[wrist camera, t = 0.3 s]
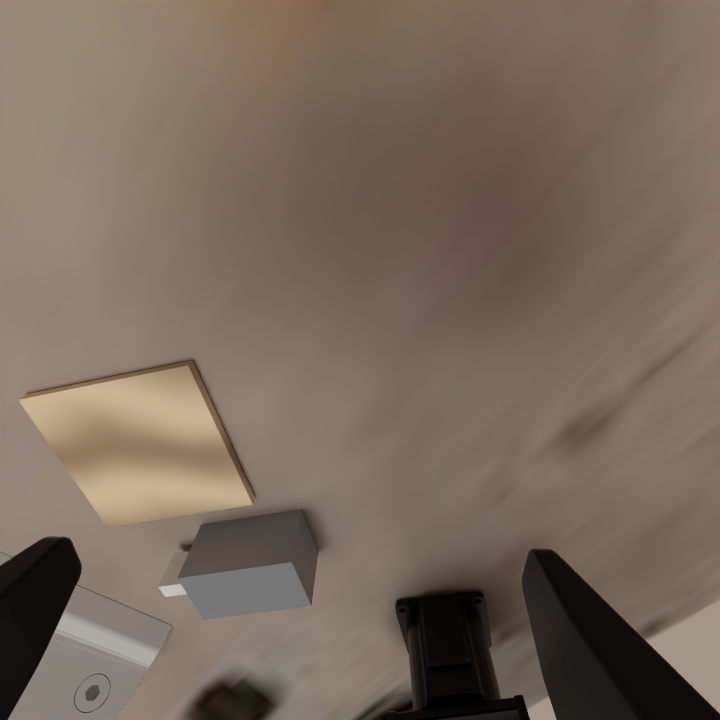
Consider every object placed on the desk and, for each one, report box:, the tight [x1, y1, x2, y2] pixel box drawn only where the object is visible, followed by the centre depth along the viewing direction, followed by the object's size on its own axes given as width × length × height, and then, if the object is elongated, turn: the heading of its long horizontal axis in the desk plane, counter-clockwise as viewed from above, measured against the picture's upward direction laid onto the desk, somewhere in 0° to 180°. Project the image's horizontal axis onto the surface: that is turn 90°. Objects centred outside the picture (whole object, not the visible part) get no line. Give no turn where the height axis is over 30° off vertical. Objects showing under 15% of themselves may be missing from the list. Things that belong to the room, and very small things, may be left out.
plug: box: [159, 509, 318, 619], centre depth 26 cm, size 4×9×4 cm
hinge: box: [0, 552, 172, 720], centre depth 28 cm, size 17×5×10 cm, turn 52°
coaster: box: [19, 360, 255, 528], centre depth 24 cm, size 10×10×1 cm
